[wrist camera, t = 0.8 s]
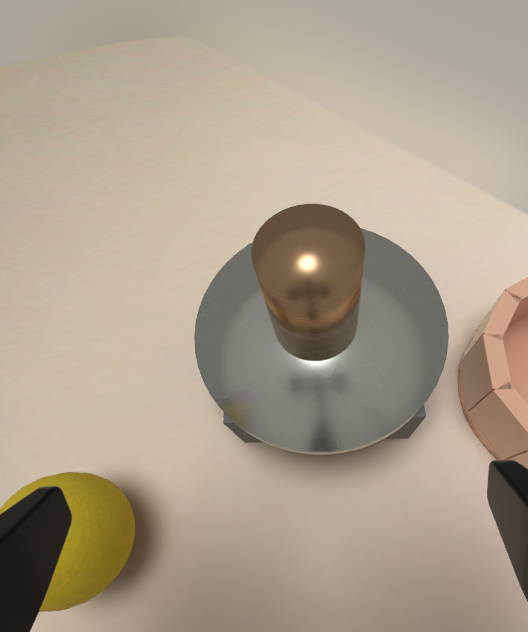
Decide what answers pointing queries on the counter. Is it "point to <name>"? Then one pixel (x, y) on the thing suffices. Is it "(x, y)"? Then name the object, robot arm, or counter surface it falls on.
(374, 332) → the lid
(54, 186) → the counter surface
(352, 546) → the counter surface
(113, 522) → the lemon
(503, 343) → the bowl
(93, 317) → the counter surface
